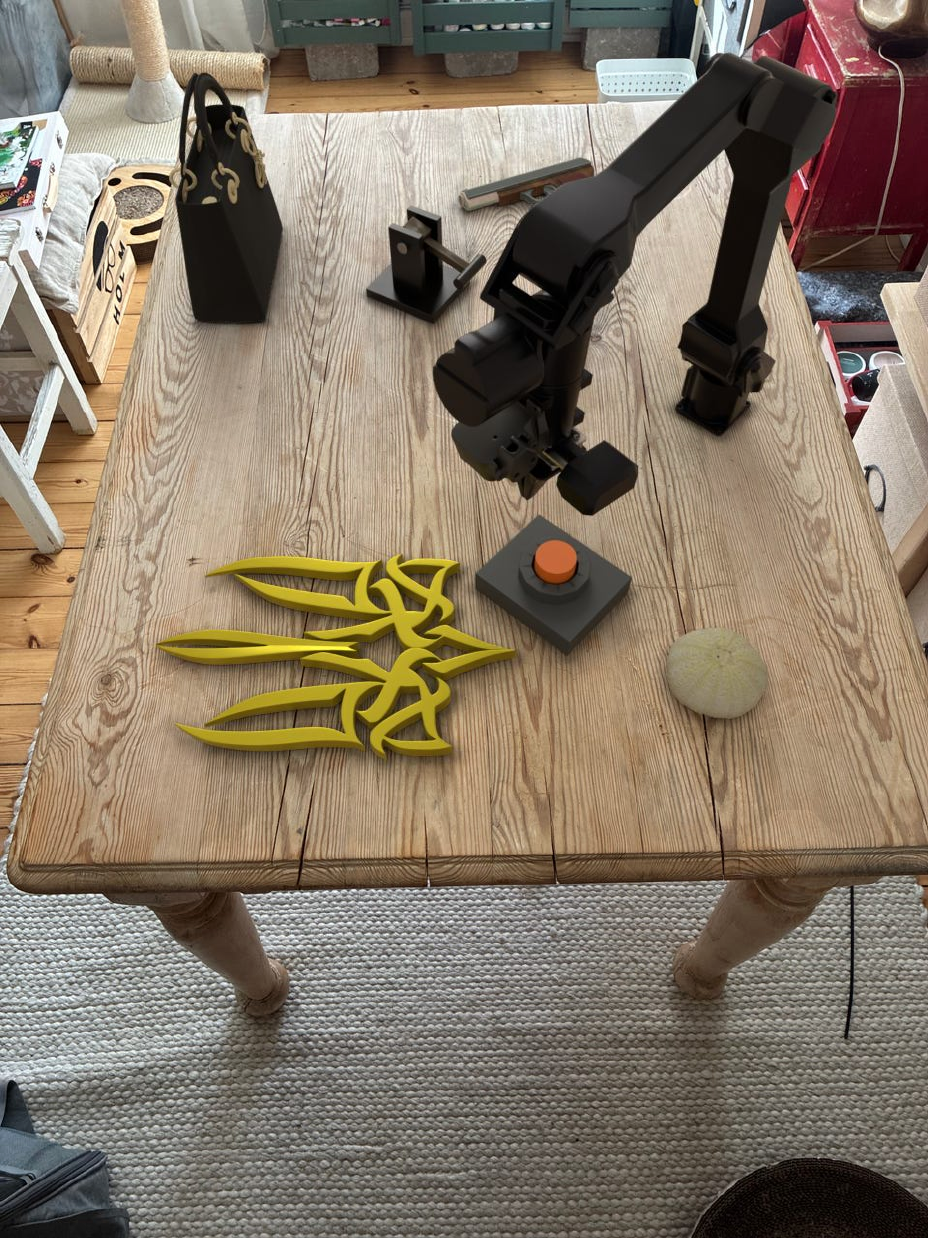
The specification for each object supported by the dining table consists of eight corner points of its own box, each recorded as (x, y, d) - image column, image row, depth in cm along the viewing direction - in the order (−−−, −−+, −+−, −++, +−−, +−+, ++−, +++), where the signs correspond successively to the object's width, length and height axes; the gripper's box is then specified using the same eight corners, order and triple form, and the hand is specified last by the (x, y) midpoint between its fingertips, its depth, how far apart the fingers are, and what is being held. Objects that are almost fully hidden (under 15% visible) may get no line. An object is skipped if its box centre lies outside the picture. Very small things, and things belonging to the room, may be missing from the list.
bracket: (470, 282, 120) (470, 214, 112) (432, 323, 116) (430, 256, 108) (405, 257, 123) (400, 188, 115) (366, 296, 119) (358, 228, 110)
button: (583, 565, 92) (585, 555, 90) (557, 591, 90) (559, 580, 88) (551, 543, 93) (553, 533, 91) (526, 568, 91) (527, 558, 90)
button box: (628, 592, 95) (635, 566, 91) (567, 656, 91) (571, 632, 87) (537, 529, 99) (540, 502, 95) (475, 588, 95) (475, 562, 91)
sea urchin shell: (745, 739, 84) (703, 676, 81) (680, 732, 91) (638, 673, 88) (792, 668, 88) (753, 605, 85) (725, 665, 94) (687, 607, 91)
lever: (484, 269, 115) (489, 254, 112) (460, 294, 112) (465, 280, 110) (416, 223, 115) (420, 208, 113) (391, 248, 113) (395, 233, 110)
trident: (515, 757, 83) (128, 747, 84) (514, 764, 85) (133, 754, 86) (516, 555, 95) (176, 548, 96) (515, 564, 97) (180, 557, 97)
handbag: (265, 329, 116) (220, 134, 94) (192, 328, 116) (131, 133, 94) (285, 225, 126) (249, 29, 105) (219, 225, 127) (169, 28, 105)
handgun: (494, 252, 123) (456, 202, 129) (623, 213, 127) (580, 166, 133) (494, 238, 121) (456, 187, 127) (625, 199, 126) (582, 151, 131)
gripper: (397, 341, 75) (398, 477, 88) (557, 475, 67) (533, 602, 80) (499, 290, 80) (486, 426, 92) (660, 411, 72) (622, 540, 85)
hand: (527, 496), depth 87 cm, fingers closed
